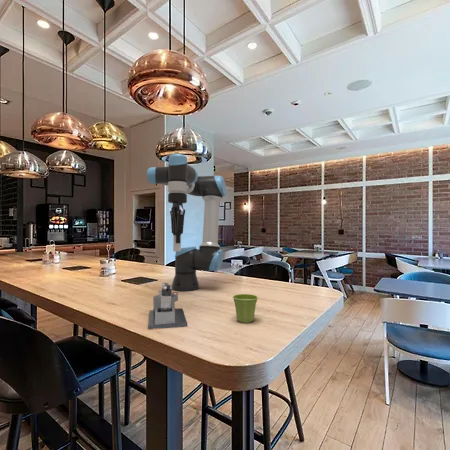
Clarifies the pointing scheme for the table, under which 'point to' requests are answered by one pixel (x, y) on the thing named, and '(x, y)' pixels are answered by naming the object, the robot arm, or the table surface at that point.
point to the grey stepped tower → (166, 298)
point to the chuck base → (167, 318)
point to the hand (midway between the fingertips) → (176, 251)
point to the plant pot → (245, 307)
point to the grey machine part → (158, 300)
